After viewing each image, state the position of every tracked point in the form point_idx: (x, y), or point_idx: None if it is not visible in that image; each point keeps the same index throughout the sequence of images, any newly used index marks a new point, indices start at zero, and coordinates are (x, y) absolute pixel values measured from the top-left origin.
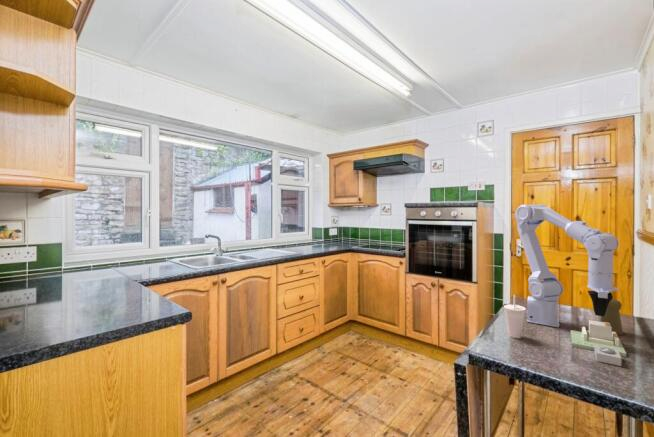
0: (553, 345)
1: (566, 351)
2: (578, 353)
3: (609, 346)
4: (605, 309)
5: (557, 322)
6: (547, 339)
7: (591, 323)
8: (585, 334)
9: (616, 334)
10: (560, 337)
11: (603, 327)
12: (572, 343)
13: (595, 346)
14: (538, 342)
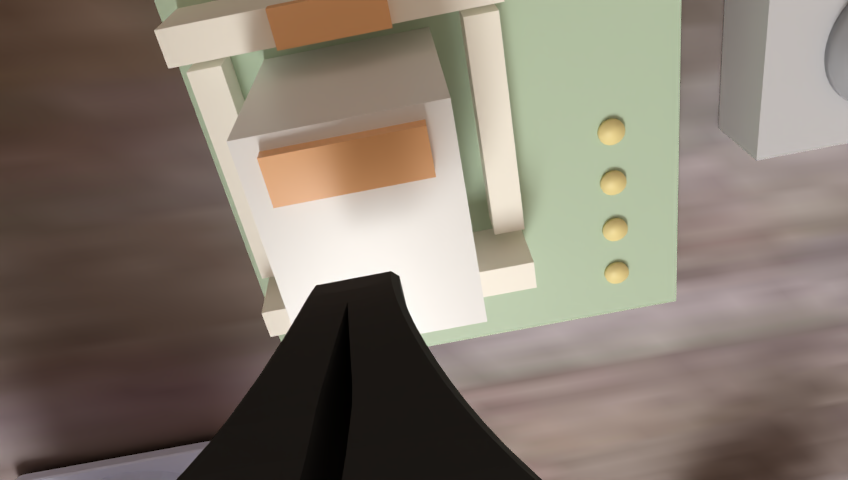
0: (730, 374)
1: (816, 290)
2: (814, 219)
3: (549, 34)
4: (424, 353)
5: (138, 476)
6: (614, 426)
7: (454, 312)
8: (533, 271)
9: (295, 9)
10: (491, 378)
11: (460, 180)
12: (672, 296)
13: (795, 146)
14: (725, 448)
